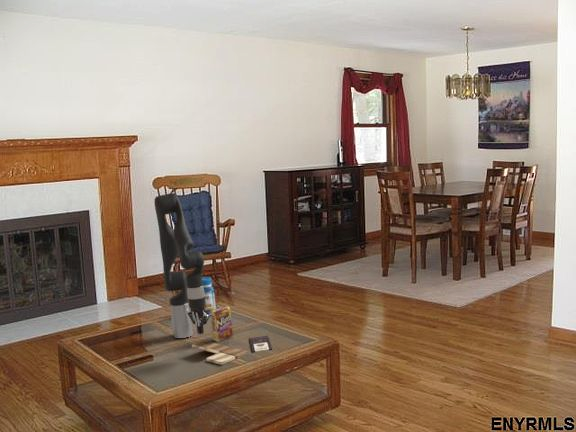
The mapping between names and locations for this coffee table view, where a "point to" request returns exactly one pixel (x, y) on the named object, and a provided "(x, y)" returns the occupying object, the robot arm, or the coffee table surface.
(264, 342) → the chocolate bar
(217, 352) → the plank
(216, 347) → the laid row
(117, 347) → the coffee table surface
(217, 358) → the plank
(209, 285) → the beverage bottle
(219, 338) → the candy box
